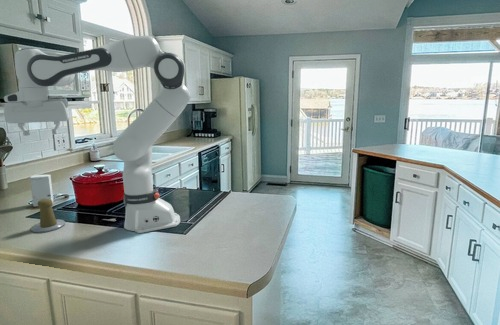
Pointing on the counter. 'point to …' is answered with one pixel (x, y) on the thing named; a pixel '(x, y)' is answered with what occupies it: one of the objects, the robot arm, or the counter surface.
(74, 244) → the counter surface
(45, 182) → the skincare box
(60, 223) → the coaster
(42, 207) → the cork
